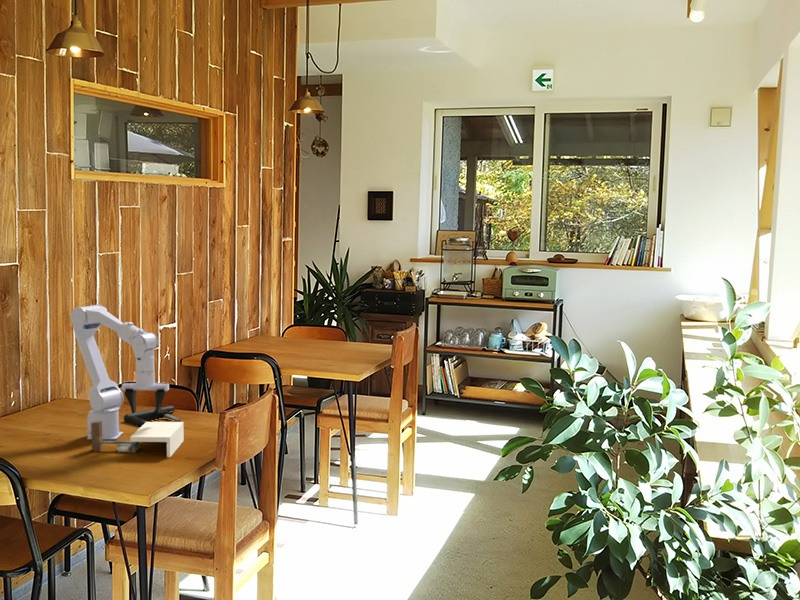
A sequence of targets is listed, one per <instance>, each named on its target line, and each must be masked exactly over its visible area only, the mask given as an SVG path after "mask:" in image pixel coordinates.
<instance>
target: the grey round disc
mask: <svg viewBox="0 0 800 600" xmlns="http://www.w3.org/2000/svg"><path fill="white" fill-rule="evenodd" d="M116 445H117V448H116V449H117V452H118V453H120V452H128V453H131V444H116Z"/></svg>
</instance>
